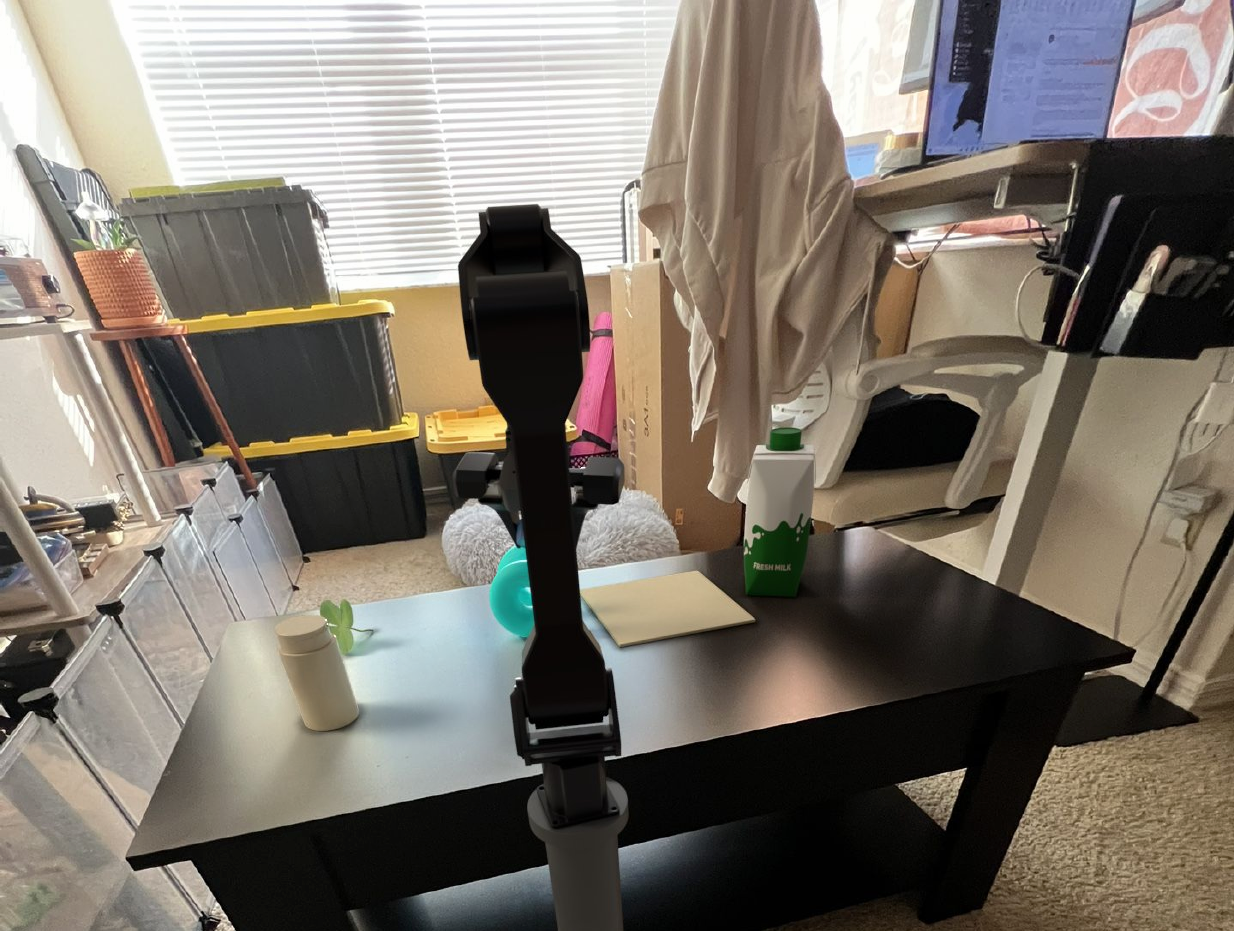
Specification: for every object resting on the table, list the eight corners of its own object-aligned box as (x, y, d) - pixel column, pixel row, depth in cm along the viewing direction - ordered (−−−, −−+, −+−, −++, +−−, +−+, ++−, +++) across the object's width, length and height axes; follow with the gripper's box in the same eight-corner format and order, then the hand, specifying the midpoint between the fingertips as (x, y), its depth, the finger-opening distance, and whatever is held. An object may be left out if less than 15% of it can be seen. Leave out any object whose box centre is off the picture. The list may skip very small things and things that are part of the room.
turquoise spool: (574, 609, 102) (567, 537, 96) (570, 639, 94) (562, 563, 88) (504, 612, 102) (493, 540, 96) (494, 643, 95) (481, 567, 88)
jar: (360, 724, 80) (330, 631, 73) (303, 735, 79) (268, 641, 72) (358, 699, 84) (330, 609, 77) (305, 709, 83) (271, 618, 76)
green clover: (369, 673, 100) (330, 667, 95) (346, 625, 102) (307, 617, 96) (401, 643, 97) (364, 635, 91) (378, 594, 99) (339, 583, 93)
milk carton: (803, 576, 107) (820, 426, 95) (802, 600, 101) (820, 441, 88) (743, 575, 109) (753, 427, 97) (738, 598, 102) (748, 442, 90)
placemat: (755, 622, 96) (755, 619, 96) (619, 647, 92) (619, 644, 92) (697, 572, 111) (697, 570, 111) (578, 592, 107) (578, 590, 107)
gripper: (423, 440, 72) (454, 580, 84) (609, 447, 70) (613, 589, 82) (454, 396, 79) (479, 531, 91) (624, 401, 77) (626, 538, 89)
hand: (546, 548), depth 88 cm, fingers closed on lid, 6 cm apart
